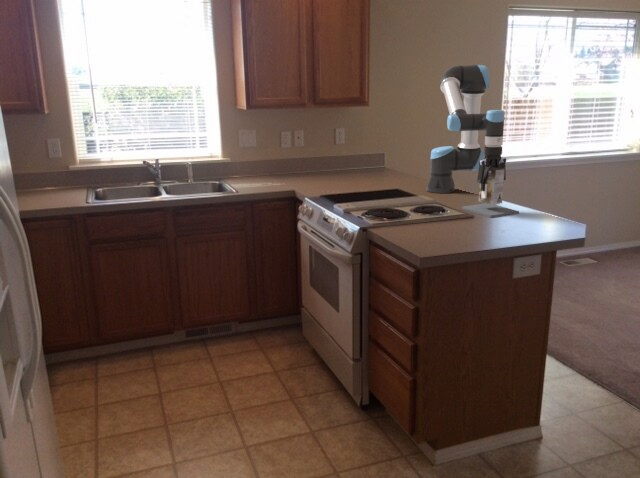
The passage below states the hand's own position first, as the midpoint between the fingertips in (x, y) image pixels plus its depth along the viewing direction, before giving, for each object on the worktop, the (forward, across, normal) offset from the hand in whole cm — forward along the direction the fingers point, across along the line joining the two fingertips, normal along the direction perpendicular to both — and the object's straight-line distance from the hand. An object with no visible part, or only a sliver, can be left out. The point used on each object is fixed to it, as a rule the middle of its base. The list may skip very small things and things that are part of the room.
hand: (490, 196), depth 254 cm
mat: (+7, 0, 0) cm, 7 cm away
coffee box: (+3, 0, 0) cm, 3 cm away
